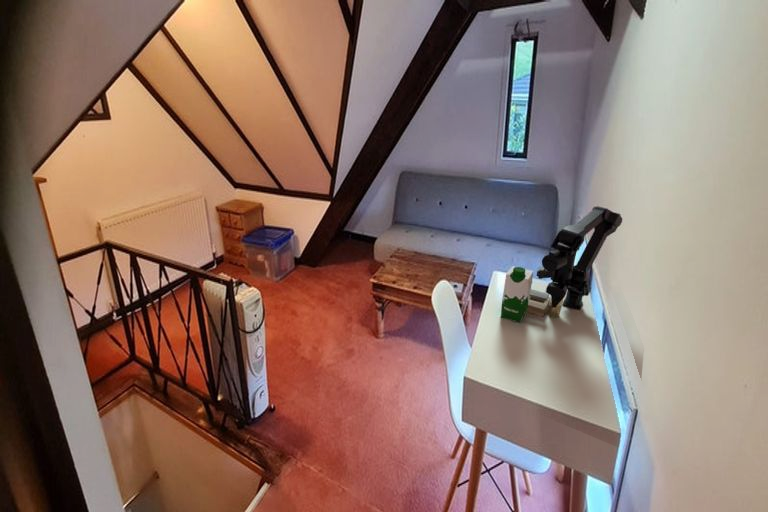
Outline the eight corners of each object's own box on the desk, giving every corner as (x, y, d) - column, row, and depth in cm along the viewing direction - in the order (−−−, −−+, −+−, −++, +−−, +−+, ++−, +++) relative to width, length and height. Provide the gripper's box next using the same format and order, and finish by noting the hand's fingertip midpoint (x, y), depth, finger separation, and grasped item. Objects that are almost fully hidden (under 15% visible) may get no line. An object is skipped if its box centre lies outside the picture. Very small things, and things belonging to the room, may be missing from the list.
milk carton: (497, 317, 144) (504, 268, 136) (504, 306, 151) (512, 259, 143) (521, 324, 140) (530, 275, 132) (528, 313, 147) (537, 265, 139)
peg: (549, 310, 149) (553, 290, 145) (560, 313, 147) (565, 293, 143) (546, 315, 146) (551, 294, 142) (558, 318, 144) (562, 297, 140)
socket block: (528, 298, 157) (531, 281, 154) (549, 304, 153) (553, 287, 150) (521, 309, 149) (524, 292, 146) (543, 316, 145) (546, 298, 142)
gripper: (547, 249, 149) (540, 285, 155) (534, 267, 135) (527, 306, 141) (578, 256, 143) (570, 293, 150) (569, 275, 129) (560, 316, 136)
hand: (556, 301), depth 144 cm, fingers open, 9 cm apart
